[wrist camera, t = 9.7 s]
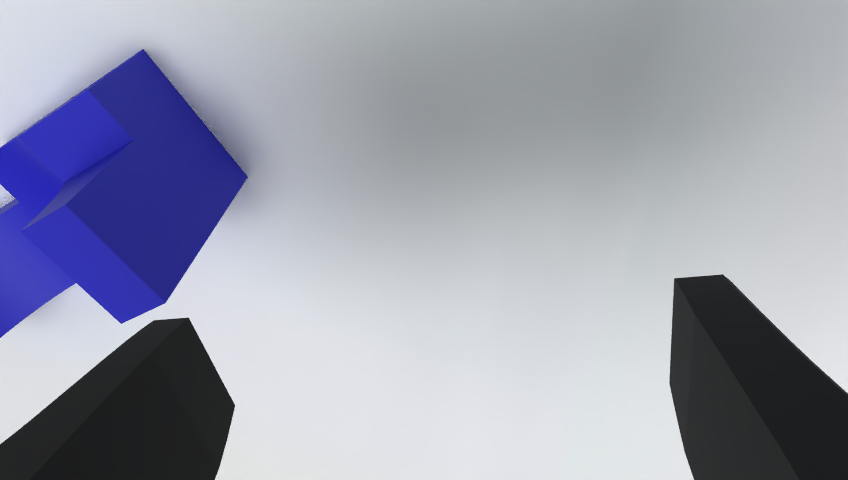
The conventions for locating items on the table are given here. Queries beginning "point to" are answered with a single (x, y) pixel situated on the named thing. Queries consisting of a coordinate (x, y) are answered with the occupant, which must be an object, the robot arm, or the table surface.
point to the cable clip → (110, 196)
